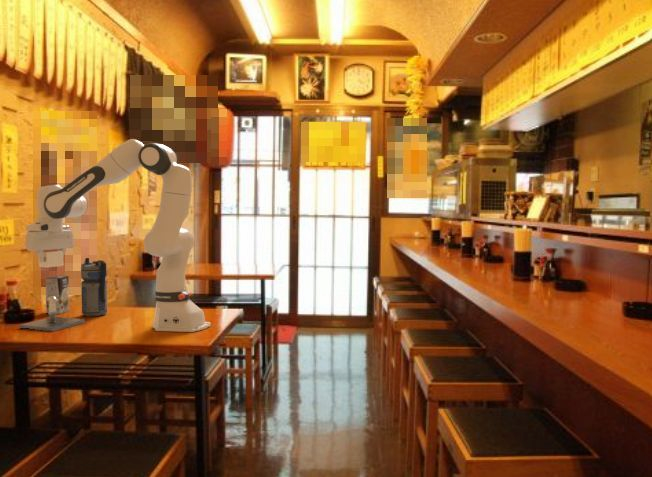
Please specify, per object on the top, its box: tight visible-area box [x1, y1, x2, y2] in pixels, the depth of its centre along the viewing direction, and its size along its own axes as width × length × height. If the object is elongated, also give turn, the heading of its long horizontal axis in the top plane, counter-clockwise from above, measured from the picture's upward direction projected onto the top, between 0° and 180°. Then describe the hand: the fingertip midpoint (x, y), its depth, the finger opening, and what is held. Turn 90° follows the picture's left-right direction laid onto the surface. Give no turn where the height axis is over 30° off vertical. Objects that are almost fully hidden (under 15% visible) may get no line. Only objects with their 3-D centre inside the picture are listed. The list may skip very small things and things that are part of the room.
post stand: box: [19, 297, 86, 333], centre depth 197 cm, size 16×16×12 cm
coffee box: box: [45, 275, 70, 315], centre depth 224 cm, size 9×6×16 cm
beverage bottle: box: [80, 257, 108, 318], centre depth 217 cm, size 10×13×25 cm
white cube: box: [37, 249, 65, 268], centre depth 196 cm, size 6×6×6 cm
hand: (51, 260), depth 196 cm, fingers closed on white cube, 7 cm apart
